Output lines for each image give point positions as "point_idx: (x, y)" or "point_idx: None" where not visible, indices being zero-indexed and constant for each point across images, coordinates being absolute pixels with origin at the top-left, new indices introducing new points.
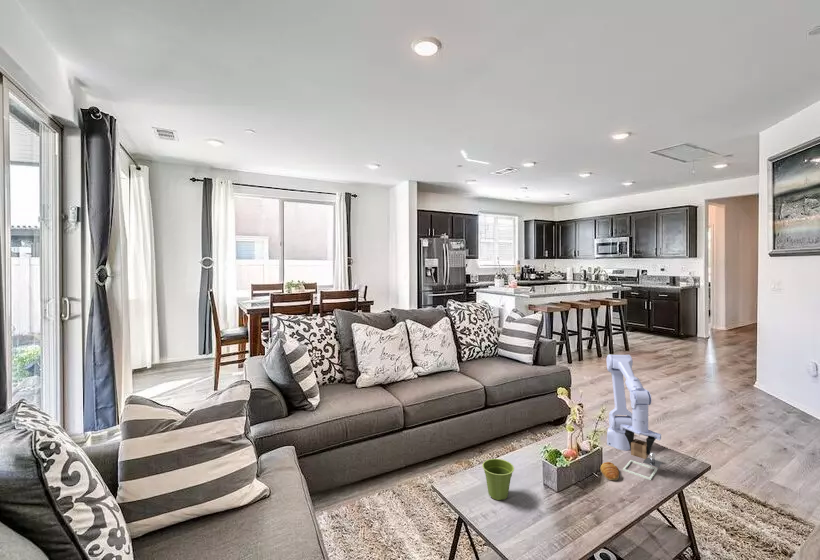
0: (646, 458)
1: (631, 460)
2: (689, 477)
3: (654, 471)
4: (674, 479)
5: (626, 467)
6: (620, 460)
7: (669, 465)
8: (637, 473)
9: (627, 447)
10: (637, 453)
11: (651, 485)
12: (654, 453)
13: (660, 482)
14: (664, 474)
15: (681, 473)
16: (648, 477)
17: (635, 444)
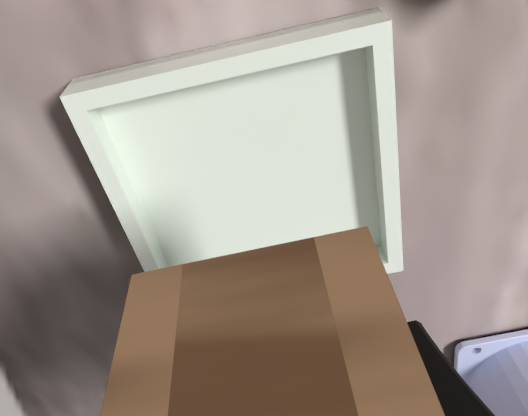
0: None
1: (390, 267)
2: (9, 386)
3: (145, 257)
4: (27, 296)
5: (375, 112)
6: (479, 223)
7: None
8: (216, 76)
9: (488, 397)
10: (264, 293)
11: (22, 22)
12: None
13: (34, 164)
14: (119, 301)
15: (73, 389)
16: (89, 98)
17: None
